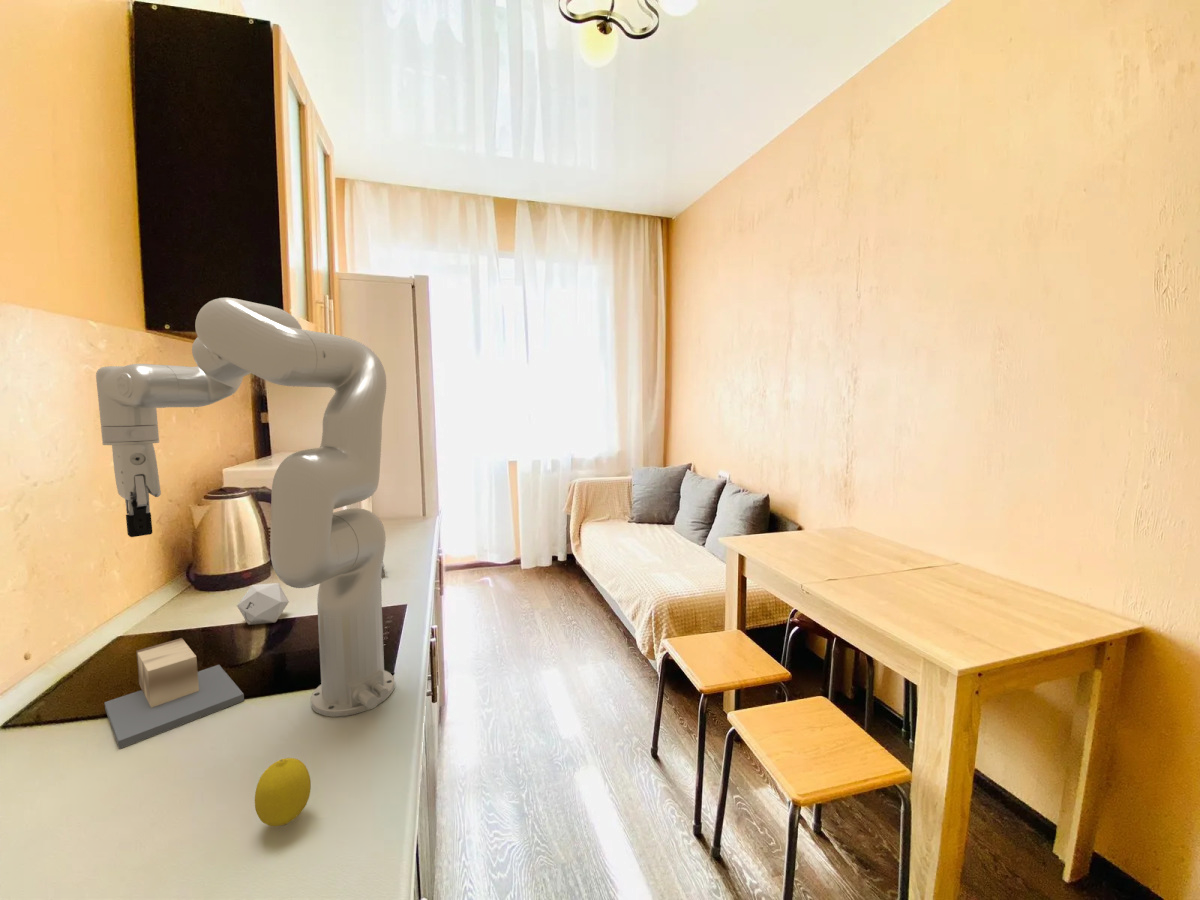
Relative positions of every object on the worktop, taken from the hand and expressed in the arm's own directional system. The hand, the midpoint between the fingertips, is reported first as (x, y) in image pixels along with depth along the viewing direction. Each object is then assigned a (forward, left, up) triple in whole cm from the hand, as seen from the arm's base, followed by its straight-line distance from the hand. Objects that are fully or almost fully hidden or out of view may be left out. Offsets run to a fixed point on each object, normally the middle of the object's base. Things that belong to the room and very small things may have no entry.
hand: (140, 534), depth 92 cm
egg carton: (+15, -49, -25) cm, 57 cm away
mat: (-21, 0, -25) cm, 32 cm away
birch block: (-11, 0, -20) cm, 23 cm away
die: (+4, -20, -25) cm, 32 cm away
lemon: (-60, -3, -25) cm, 65 cm away
